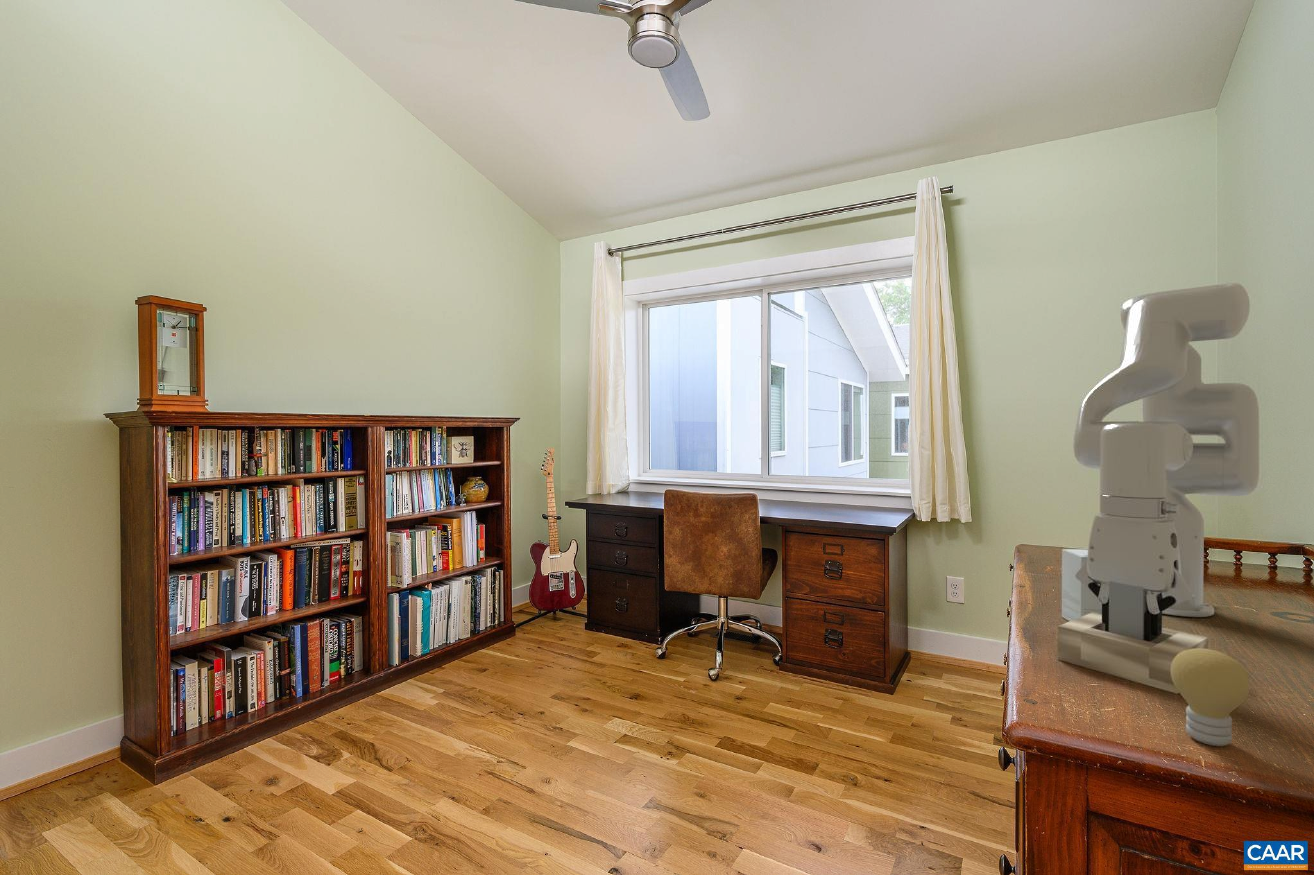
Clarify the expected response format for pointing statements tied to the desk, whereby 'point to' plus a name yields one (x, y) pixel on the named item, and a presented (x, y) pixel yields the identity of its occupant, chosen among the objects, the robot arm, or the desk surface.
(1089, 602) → the supplement box
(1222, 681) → the light bulb
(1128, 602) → the grey rectangular prism
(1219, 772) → the desk surface
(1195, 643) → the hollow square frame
